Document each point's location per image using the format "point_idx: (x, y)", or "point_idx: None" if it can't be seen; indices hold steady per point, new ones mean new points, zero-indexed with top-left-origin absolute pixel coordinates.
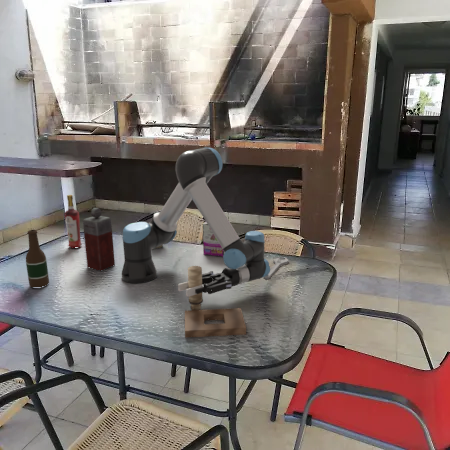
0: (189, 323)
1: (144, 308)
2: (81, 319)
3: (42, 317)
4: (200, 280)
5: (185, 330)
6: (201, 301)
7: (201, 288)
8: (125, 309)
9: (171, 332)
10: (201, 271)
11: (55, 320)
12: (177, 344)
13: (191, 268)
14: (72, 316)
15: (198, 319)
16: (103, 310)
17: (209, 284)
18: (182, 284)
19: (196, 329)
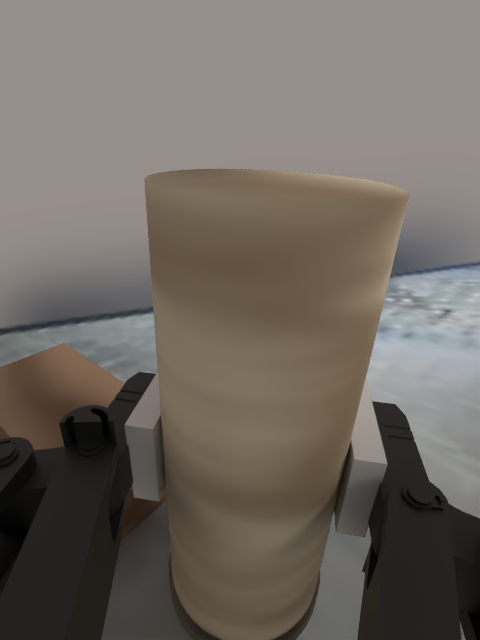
0: (77, 376)
1: (428, 402)
2: (421, 295)
3: (470, 273)
4: (157, 362)
5: (62, 344)
6: (169, 575)
7: (119, 417)
8: (449, 362)
9: (148, 365)
10: (155, 240)
11: (441, 277)
12: (72, 342)
13: (306, 177)
14: (451, 292)
15: (48, 419)
16: (467, 330)
17: (48, 527)
18: None
19: (11, 366)
